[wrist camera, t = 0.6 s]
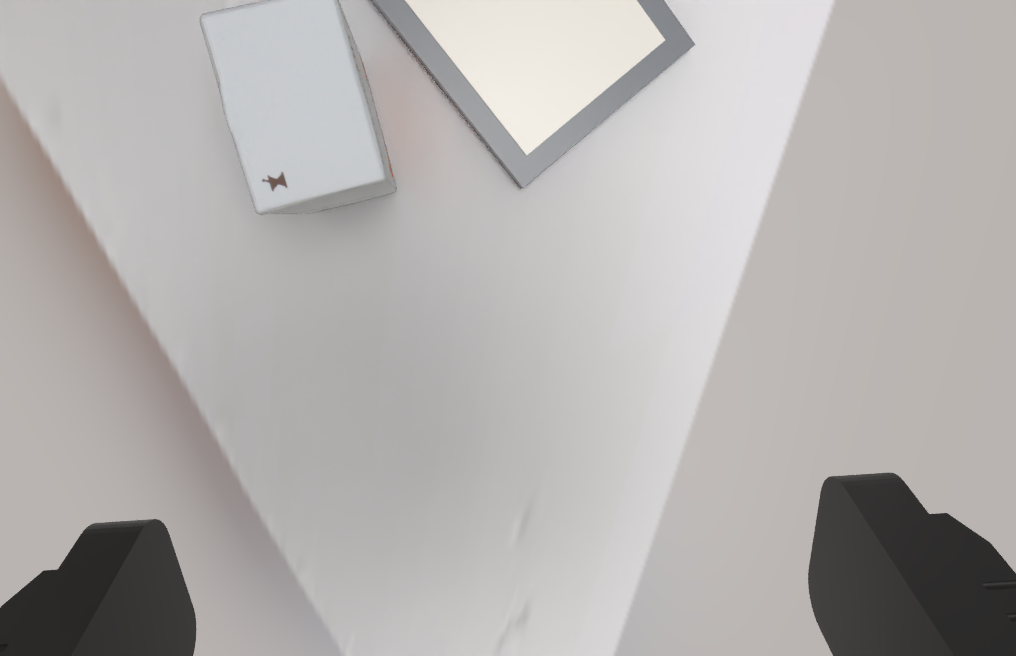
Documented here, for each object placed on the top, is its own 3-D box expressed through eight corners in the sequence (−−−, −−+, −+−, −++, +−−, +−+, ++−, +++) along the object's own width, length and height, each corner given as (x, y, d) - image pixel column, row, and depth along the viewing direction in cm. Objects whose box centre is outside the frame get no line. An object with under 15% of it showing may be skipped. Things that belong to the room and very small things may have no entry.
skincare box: (400, 191, 36) (389, 186, 24) (308, 214, 35) (252, 220, 24) (364, 56, 35) (335, -20, 23) (269, 78, 34) (189, 14, 23)
